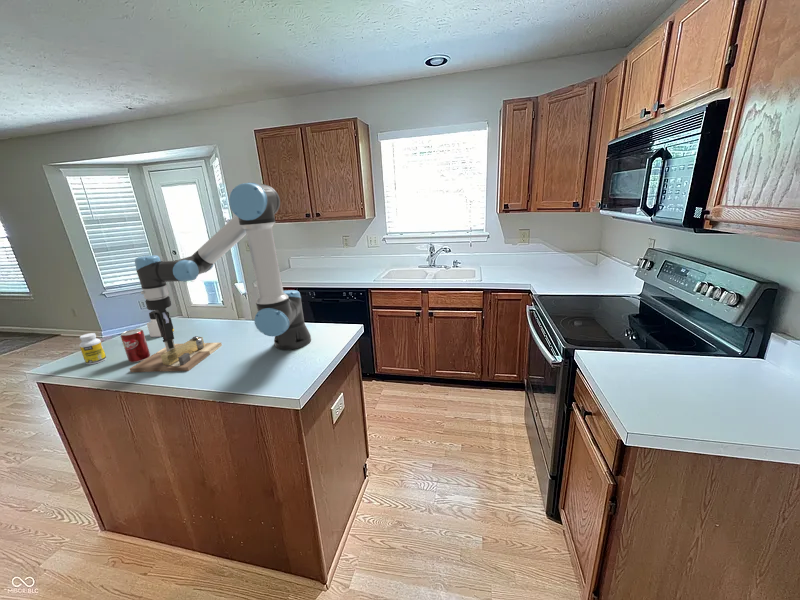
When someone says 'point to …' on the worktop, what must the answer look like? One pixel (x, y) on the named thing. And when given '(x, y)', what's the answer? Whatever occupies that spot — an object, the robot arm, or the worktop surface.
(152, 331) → the medicine bottle
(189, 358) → the wooden cutting board
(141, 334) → the soda can
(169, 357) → the swing bar
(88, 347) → the pill bottle
